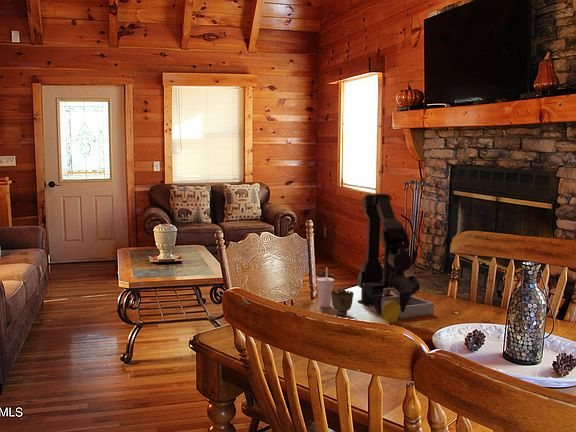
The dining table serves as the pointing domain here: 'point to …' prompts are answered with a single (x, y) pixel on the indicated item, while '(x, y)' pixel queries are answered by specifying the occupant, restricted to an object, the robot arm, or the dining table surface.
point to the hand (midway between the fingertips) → (390, 313)
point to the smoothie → (325, 290)
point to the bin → (412, 307)
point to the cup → (342, 301)
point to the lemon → (390, 311)
